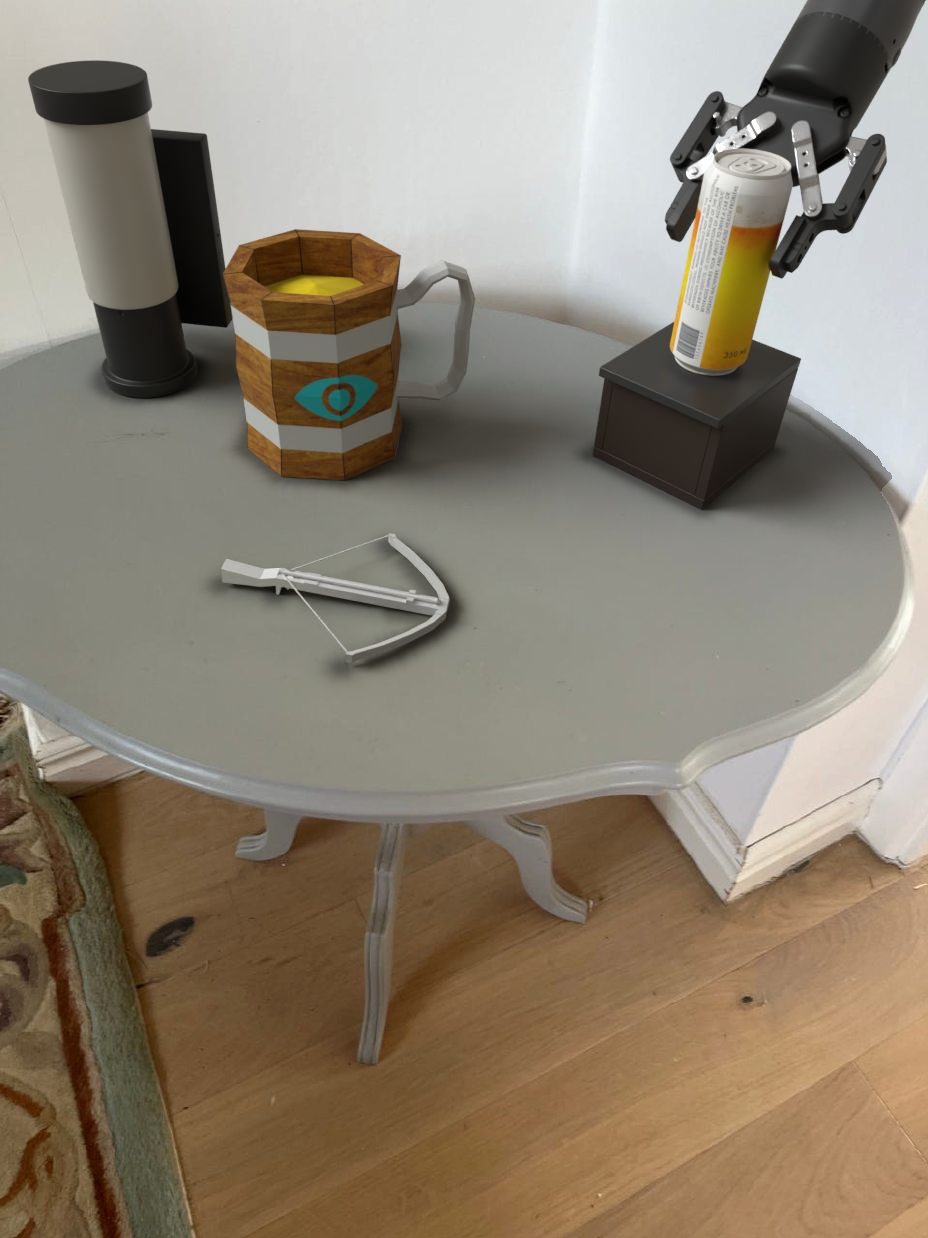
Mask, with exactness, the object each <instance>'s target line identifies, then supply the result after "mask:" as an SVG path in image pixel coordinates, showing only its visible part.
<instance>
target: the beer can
mask: <svg viewBox="0 0 928 1238" xmlns="http://www.w3.org/2000/svg"><path fill="white" fill-rule="evenodd" d="M793 188H794V187H793V181H792V176H791V164H790V162H789V161H788V160H786V159H785V158H783V157H781V156H779V155H776V154H773V153H770V152H766V151H761V150H755V149H728V150H723V151H720V152H718V153H716V154H715V155H714V157H713V161H712V162H711V164H710V165H709V167H708V168H707V169H706V171H705V173H704V177H703V182H702V187H701V192H700V197H699V202H698V207H697V212H696V217H695V219H694V221H693V227H692V228H693V229H692V232H691V238H690V241H689V242H690V243H689V247H688V252H687V258H686V262H685V267H684V268H685V269H684V271H683V272H684V273H683V278H682V282H681V287H680V292H679V297H678V302H677V306H676V313H675V318H674V321H675V322H674V321H673V322H674V327H673V332H672V337H671V342H670V349H671V352H672V353H673V354H674V356H675V360H676V361H677V363H678V364H679V365H680V366H682V367H683V368H685V369H687V370H689V371H691V372H694V373H697V374H701V375H708V376H720V375H726V374H729V373H731V372H733V371H735V370H736V369H737V367H738V366H740V365H742V364H743V363H744V362H745V361H746V360H747V357H748V354H749V350H750V346H751V342H752V339H753V338H754V335H755V331H756V326H757V323H758V319H759V315H760V311H761V308H762V304H763V301H764V296H765V293H766V290H767V285H768V281H769V278H770V274H771V270H770V267H769V263H770V260H771V258H772V256H773V254H774V253H775V251H776V249H777V247H778V245H779V240H780V236H781V233H782V228H783V226H784V221H785V217H786V213H787V211H788V210H787V208H788V206H789V202H790V198H791V194H792V191H793Z"/></svg>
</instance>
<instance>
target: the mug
mask: <svg viewBox="0 0 928 1238" xmlns="http://www.w3.org/2000/svg"><path fill="white" fill-rule="evenodd" d="M401 258H402V255H401V254H399V253H398V252H396V251H394V250H392V249H391V248H388V247H386V246H385V245H383V244H381V243H379V242H377V241H375V240H373V239H372V238H370V237H368V236H366V235H364V234H362V233H361V232H347V231H346V232H344V231H331V230H330V231H329V230H317V229H315V230H314V229H297V228H294V229H291V230H287V231H284V232H280V233H276V234H273V235H270V236H267V237H262V238H260V239H256V240H253V241H249V242H245V243H242V244H238V246H237V248H236V249H235V251H234V253H233V255H232V257H231V259H230V260H229V262H228V263H227V266H225V271H224V272H223V278H224V281H225V285H226V289H227V292H228V296H229V300H230V304H231V312H232V322H233V330H234V346H235V368H236V372H237V377H238V381H239V385H240V389H241V392H242V398H243V405H244V412H245V419H246V449H247V450H249V452H251V453H252V454H254V455H255V456H256V457H257V458H258V459H259V460H261V461H262V462H263V463H265V464H266V465H267V466H268V467H270V468H271V469H272V470H273V471H274V472H275V473H276V474H278V475H279V476H280V477H286V478H288V477H289V478H301V479H314V480H315V479H316V480H330V481H331V480H332V481H347V480H349V479H352V478H354V477H356V476H358V475H360V474H362V473H365V472H368V471H369V470H371V469H374V468H376V467H378V466H380V465H384V464H385V463H387V462H390V461H392V460H394V459H396V456H397V451H398V446H399V443H400V442H399V441H400V437H401V432H402V427H403V422H402V414H401V408H400V407H401V406H400V402H399V399H407V400H409V399H411V400H412V399H413V400H414V399H415V400H429V401H441V400H443V399H445V398H447V397H449V396H451V395H453V394H455V393H456V392H458V390H459V388H460V386H461V384H462V381H463V380H464V378H465V376H466V374H467V371H468V370H467V369H468V363H469V362H468V361H469V354H470V342H471V341H470V340H471V328H472V327H471V326H472V322H473V315H474V310H475V303H476V298H475V294H474V291H473V287H472V283H471V279H470V275H469V273H468V270H467V269H466V268H464V267H463V266H460V265H457V264H454V263H451V262H449V261H446V260H442V259H441V260H439V261H437V262H435V263H434V262H433V264H430V265H428V266H426V267H423V268H422V269H421V270H420V271H419V273H418V274H417V275H416V276H415V277H414V278H413V279H412V280H411V281H410V283H408V284H407V285H406V286H405V287H404V288H400V289H398V286H399V277H400V268H401ZM447 278H449V279H450V278H451V279H453V280H455V281H457V283H458V290H459V300H458V305H457V309H456V314H455V321H454V332H453V333H454V334H453V338H454V339H453V351H452V362H451V365H450V368H449V370H448V372H447V375H446V377H445V378H443V379H441V380H439V381H437V382H435V383H427V382H422V381H418V380H417V381H411V380H399V371H400V362H401V352H402V338H401V330H400V329H401V328H400V320H399V310H400V309H403V308H404V309H405V308H408V307H411V306H412V307H413V306H415V304H417V303H418V302H420V301H421V300H422V299H423V298H424V297H425V295H426V294H427V293H428V292H429V291H430V289H431V288H432V287H433V286H434V285H436V284H437V283H439V282H441V281H443V280H445V279H447Z"/></svg>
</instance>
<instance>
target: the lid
mask: <svg viewBox="0 0 928 1238" xmlns="http://www.w3.org/2000/svg"><path fill="white" fill-rule="evenodd" d="M674 322H675V320H674V321H672V322H671V323H669V324H667V325H666V326H664V327H663V328H662V329H659V330H658V331H656V332H655V333H653V334H651V335H650V336H648V337H646V338H645V339H643V340H642V341H640V342H639V343H637V344H635V345H633V346H632V347H630V348H629V349H627V350H625V351H623V352H622V353H621V354H619V355H618V356H615V357H614V358H613V359H611V360H609V361H607V362H606V363H604V364H603V365H601V366H600V367H599V370H598V371H599V372H598V376H599V377H600V378H603V379H604V378H605V379H607V380H609V381H611V382H614V383H616V384H618V385H620V386H623V387H625V388H627V389H629V390H632V391H634V392H636V393H638V394H641V395H643V396H645V397H647V398H649V399H652V400H654V401H656V402H658V403H661V404H663V405H665V406H667V407H670V408H672V409H674V410H676V411H678V412H681V413H683V414H685V415H687V416H690V417H692V418H694V419H696V420H699V421H701V422H703V423H705V424H707V425H710V426H712V427H714V428H716V429H718V428H720V427H721V426H722V425H724V424H725V423H726V422H727V421H729V420H730V419H731V418H733V417H734V416H735V415H737V414H738V413H739V412H741V411H742V410H743V409H744V408H746V407H747V406H748V405H750V404H751V403H752V402H754V401H755V400H756V399H758V398H759V397H760V396H761V395H763V394H764V393H765V392H767V391H768V390H769V389H771V388H772V387H773V386H775V385H776V384H777V383H778V382H780V381H781V380H782V379H784V378H785V377H786V376H788V375H789V374H790V373H791V372H793V371H794V370H795V369H797V368H798V369H799V367H800V364H801V361H802V358H801V357H799V356H796V355H793V354H791V353H788V352H786V351H783V350H781V349H778V348H776V347H774V346H770V345H768V344H765V343H763V342H760V341H757V340H755V339H753V338H752V342H751V346H750V350H749V354H748V357H747V360H746V361H745V362H744V363H743V364H742V365H740V366H738V367H737V369H736V370H735V371H733V372H731V373H729V374H726V375H720V376H708V375H701V374H697V373H694V372H691V371H689V370H687V369H685V368H683V367H682V366H680V365H679V364H678V363H677V361H676V360H675V356H674V354H673V353H672V352H671V349H670V342H671V337H672V332H673V327H674Z"/></svg>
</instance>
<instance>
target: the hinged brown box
mask: <svg viewBox="0 0 928 1238" xmlns="http://www.w3.org/2000/svg"><path fill="white" fill-rule="evenodd" d="M798 371H799V367H798V368H797V369H795V370H794V371H793V372H791V373H790V374H789V375H788V376H786V377H785V378H784V379H782V380H781V381H780V382H778V383H777V384H776V385H775V386H773V387H772V388H771V389H769V390H768V391H767V392H765V393H764V394H763V395H761V396H760V397H759V398H758V399H756V400H755V401H754V402H752V403H751V404H750V405H748V406H747V407H746V408H744V409H743V410H742V411H741V412H739V413H738V414H737V415H735V416H734V417H733V418H731V419H730V420H729V421H727V422H726V423H725V424H724V425H722V426H721V427H720V428H718V429H716V428H714V427H712V426H710V425H707V424H705V423H703V422H701V421H699V420H696V419H694V418H692V417H690V416H687V415H685V414H683V413H681V412H678V411H676V410H674V409H672V408H670V407H667V406H665V405H663V404H661V403H658V402H656V401H654V400H652V399H649V398H647V397H645V396H643V395H641V394H638V393H636V392H634V391H632V390H629V389H627V388H625V387H623V386H620V385H618V384H616V383H614V382H611V381H609V380H607V379H605V378H603V379H604V380H603V384H602V391H601V392H602V393H601V398H600V404H599V411H598V417H597V425H596V430H595V436H594V444H593V448H592V456H593V457H595V458H597V459H599V460H601V461H603V462H604V463H607V464H608V465H611V466H613V467H615V468H616V469H618V470H621V471H623V472H625V473H627V474H629V475H631V476H633V477H635V478H637V479H639V480H641V481H643V482H645V483H647V484H649V485H651V486H653V487H656V488H657V489H660V490H662V491H663V492H666V493H667V494H670V496H674V497H676V498H677V499H680V500H682V501H684V502H686V503H687V504H690V505H691V506H694V507H696V508H698V509H699V510H703V509H705V508H706V507H707V506H708V505H709V504H710V503H711V502H713V501H714V500H716V499H717V497H719V496H720V495H721V494H722V493H724V492H725V491H726V490H727V489H728V488H730V487H731V486H732V485H733V484H735V482H737V481H738V480H739V479H741V478H742V477H743V476H744V475H745V474H746V473H747V472H749V471H750V470H751V469H752V468H754V466H756V465H757V464H758V463H760V462H761V461H762V460H764V458H765V457H766V456H767V455H769V454H770V453H771V452H772V451H774V448H775V445H776V441H777V439H778V435H779V432H780V429H781V426H782V422H783V419H784V416H785V414H786V410H787V407H788V403H789V400H790V397H791V393H792V390H793V387H794V383H795V380H796V378H797V377H796V376H797V374H798Z"/></svg>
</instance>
